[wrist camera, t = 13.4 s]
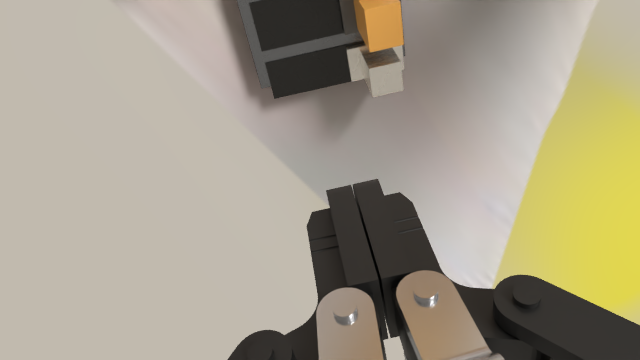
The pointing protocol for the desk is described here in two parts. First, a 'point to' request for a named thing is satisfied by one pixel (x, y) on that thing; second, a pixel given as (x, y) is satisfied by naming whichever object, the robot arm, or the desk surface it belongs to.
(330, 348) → the robot arm
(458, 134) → the desk surface
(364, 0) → the orange rectangular block
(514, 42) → the desk surface
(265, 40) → the panel
